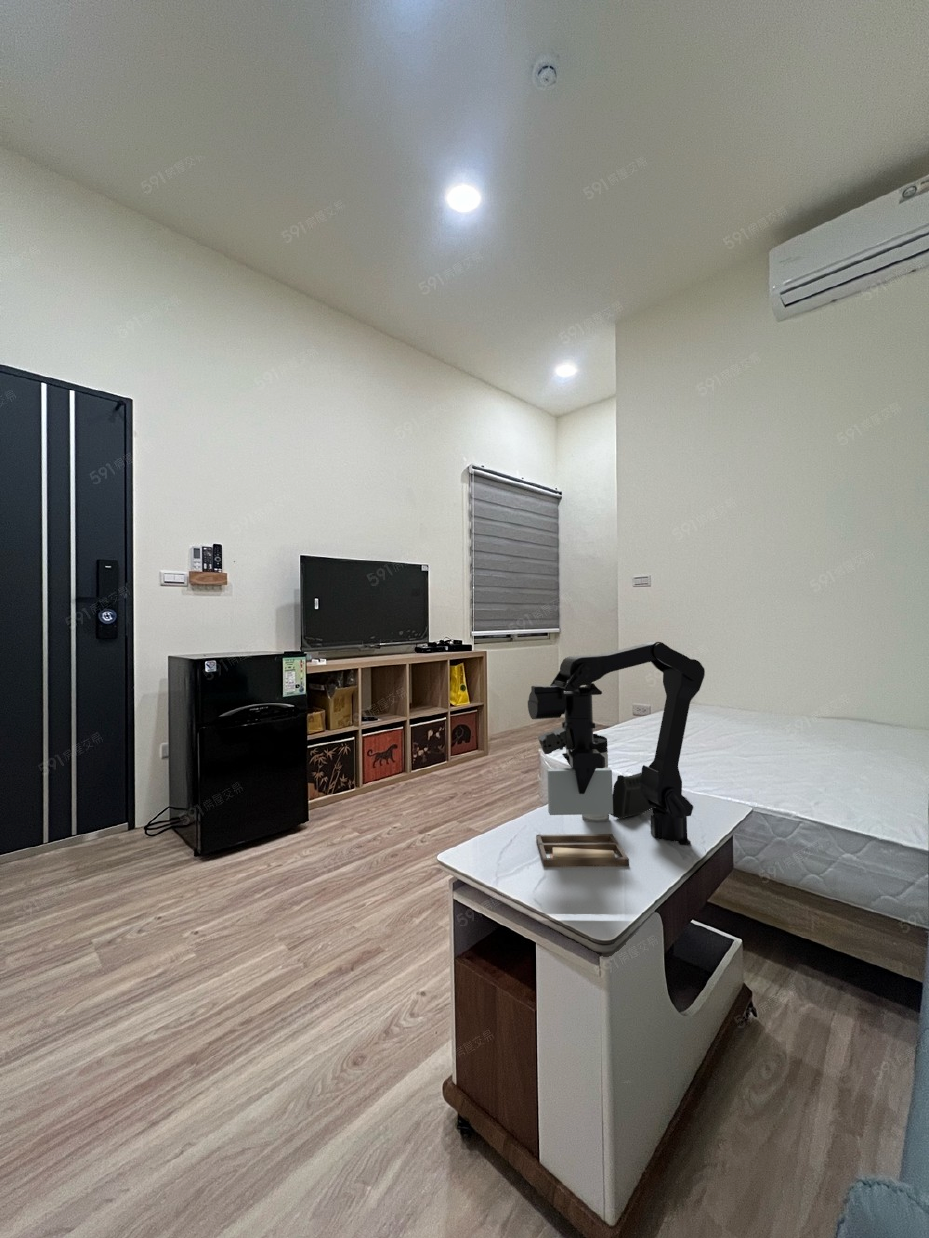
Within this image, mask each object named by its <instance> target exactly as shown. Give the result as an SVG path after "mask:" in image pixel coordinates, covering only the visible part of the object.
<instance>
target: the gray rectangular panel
mask: <svg viewBox="0 0 929 1238" xmlns="http://www.w3.org/2000/svg"><path fill="white" fill-rule="evenodd" d="M546 771H547V773H546V774H547V803H548V805H547V807H548V808H547V810H548V815H549V816H575V815H576V816H582V815H592V814H609V815H611V814H613V771H612V769H611V768H610V767H608V768H596V770H595V772H594V774H593V776H592V778H591V780H590V782H589V785H588V787H587V789H586V791H585V793H584V794H579V791H578V786H577V781H576V776H575V771H574V769H573V768H571V767H565V768H564V767H563V768H558V767H557V768H554V767H553V768H547V769H546Z"/></svg>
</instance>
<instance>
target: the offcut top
mask: <svg viewBox="0 0 929 1238" xmlns="http://www.w3.org/2000/svg"><path fill="white" fill-rule="evenodd" d="M552 853H553V858H600V857H616V853H615V851H613V850H595V849H577V848H559V847H553V851H552Z"/></svg>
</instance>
